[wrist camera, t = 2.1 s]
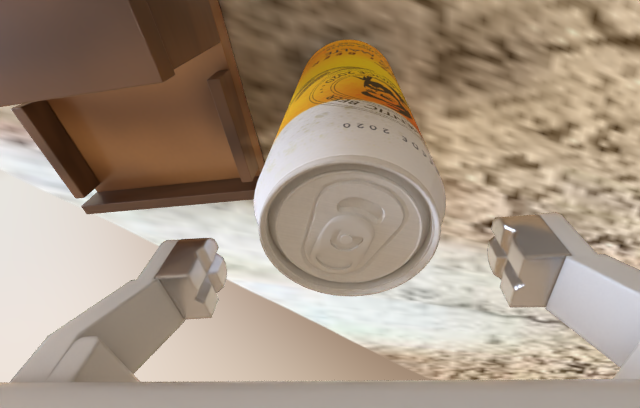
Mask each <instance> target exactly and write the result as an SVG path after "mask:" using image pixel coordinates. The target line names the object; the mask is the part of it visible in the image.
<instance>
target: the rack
mask: <svg viewBox="0 0 640 408" xmlns="http://www.w3.org/2000/svg"><path fill="white" fill-rule="evenodd" d="M17 104H21V105H18V106H16V107H13V108H12V109H11V110H12V111H13V113H14V114H15V115H16V117H17V118H18V120H19V121H20V122H21V124H22V125H23V126H24V128H25V129H26V131H27V132H28V133H29V135H30V136H31V138H32V139H33V140H34V142H35V143H36V144H37V146H38V147H39V149H40V150H41V151H42V153H43V154H44V155H45V157H46V158H47V160H48V161H49V162H50V164H51V165H52V166H53V168H54V169H55V171H56V172H57V173H58V175H59V176H60V178H61V179H62V180H63V182H64V183H65V184H66V186H67V187H68V189H69V190H70V191H71V193H72V194H73V195H74V197H75V198H84V197H86V196H87V195H88V194H89V193H90V192H91V191H93V190H94V189H96V191H97V193H96V194H95V195H93V196H92V197H91V198H90V199H89V200H88V201H87V202H86V203H85V204H83V205H82V208H83V210H84V211H85V212H86V214H95V213H106V212H117V211H128V210H139V209H150V208H161V207H173V206H184V205H195V204H206V203H217V202H228V201H240V200H251V199H254V194H255V188H256V185H257V182H258V179H259V176H260V174H261V172H262V169H263V167H264V160H263V157H262V153H261V150H260V146H259V143H258V139H257V136H256V132H255V129H254V125H253V122H252V118H251V115H250V111H249V108H248V104H247V101H246V97H245V93H244V90H243V86H242V83H241V79H240V76H239V72H238V69H237V65H236V62H235V58H234V55H233V51H232V48H231V44H230V41H229V37H228V34H227V30H226V27H225V23H224V20H223V16H222V13H221V9H220V6H219V2H218V0H0V107H3V106H10V105H17Z"/></svg>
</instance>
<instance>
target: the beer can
mask: <svg viewBox="0 0 640 408" xmlns="http://www.w3.org/2000/svg"><path fill="white" fill-rule="evenodd" d="M445 208H446V195H445V189H444V185H443V182H442V179H441V177H440V174H439V172H438V170H437V168H436V166H435V164H434V161H433V159H432V157H431V155H430V153H429V150H428V148H427V146H426V144H425V142H424V140H423V137H422V135H421V133H420V131H419V129H418V126H417V124H416V122H415V120H414V118H413V116H412V113H411V111H410V109H409V107H408V105H407V102H406V100H405V98H404V96H403V94H402V92H401V89H400V87H399V85H398V83H397V81H396V78H395V76H394V74H393V72H392V70H391V68H390V66H389V64H388V62H387V60H386V59H385V57H384V56H383V55H382V54H381V53H380V52H379V51H378V50H377V49H376V48H374V47H373V46H371V45H369V44H367V43H364V42H362V41H357V40H339V41H335V42H332V43H330V44H328V45H326V46H324V47H322V48H321V49H320V50H318V51H317V52H316V53H315V54H314V55H313V56H312V57H311V58H310V60H309V61H308V63H307V64H306V66H305V68H304V71H303V73H302V75H301V78H300V80H299V83H298V85H297V87H296V90H295V92H294V95H293V97H292V99H291V102H290V104H289V107H288V109H287V111H286V114H285V116H284V119H283V121H282V123H281V126H280V128H279V131H278V133H277V135H276V138H275V140H274V143H273V145H272V148H271V150H270V152H269V155H268V157H267V160H266V162H265V164H264V167H263V169H262V172H261V174H260V176H259V179H258V182H257V185H256V188H255V194H254V211H255V217H256V220H257V224H258V226H259V236H260V241H261V244H262V247H263V249H264V251H265V254H266V255H267V257H268V258H269V260H270V261H271V262H272V264H273V265H274V266H275V267H276V268H277V269H278V270H279V271H280V272H281V273H282V274H284V275H285V276H286V277H287V278H289V279H291V280H292V281H294V282H295V283H297V284H299V285H301V286H303V287H306V288H308V289H311V290H314V291H317V292H321V293H325V294H330V295H338V296H363V295H371V294H375V293H380V292H383V291H387V290H389V289H392V288H395V287H397V286H399V285H401V284H403V283H405V282H406V281H408V280H410V279H411V278H413V277H414V276H415V275H417V274H418V273H419V272H420V271H421V270H422V269H423V268H424V267H425V266H426V265H427V264H428V262H429V261H430V260H431V258H432V257H433V255H434V253H435V251H436V249H437V247H438V243H439V240H440V234H441V225H442V222H443V218H444V215H445Z"/></svg>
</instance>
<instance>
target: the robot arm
mask: <svg viewBox="0 0 640 408" xmlns="http://www.w3.org/2000/svg"><path fill="white" fill-rule="evenodd" d="M491 230H492V232H493V233H494V235H495V236H494V237H493V238H492V239H491V240H489V242H488V248H487V255H488V262H489V265H490V268H491V270H492V272H493V274H494V275H495V276H497V277H499V278H500V279H502V280H501V284H500V288H501V290H502V292H503V294H504V296H505V298H506V300H507V302H508V304H509V306H510V307H546V308H545V309H547V310H548V311H549V312H550V313H552V314H553V315H554V316H555V317H557V318H558V319H559V320H561V321H562V322H563V323H564V324H566V325H567V326H568V327H569V328H571V329H572V330H573V331H575V332H576V333H577V334H578V335H580V336H581V337H582V338H583V339H585V340H586V341H587V342H588V343H590V344H591V345H592V346H594V347H595V348H596V349H597V350H599V351H600V352H601V353H602V354H604V355H605V356H606V357H608V358H609V359H610V360H611V361H613V362H614V363H615V364H616V365H618V366H619V367H620V369H619V371H618V372H617V373H616V375H615V376H614V377H613V379H553V380H406V381H405V380H397V381H396V380H394V381H393V380H392V381H391V380H390V381H389V380H386V381H236V382H235V381H232V382H231V381H230V382H229V381H222V382H221V381H220V382H219V381H218V382H140V381H139V380H138V379H137V378H136V377H135V376H134V373H135V372H136V371H137V370H138V369H139V368H140V367H141V366H142V365H143V364H144V363H145V362H146V361H147V359H149V357H150V356H151V355H152V354H153V353H154V352H155V351H156V350H157V349H158V348H159V347H160V346H161V345H162V344H163V343H164V342H165V341H166V340H167V339H168V338H169V337H170V336H171V335H172V334H173V333H174V332H175V331H176V330H177V329H178V328H179V327H180V325H181V324H182V323H183V322H184V321H185V319H200V318H211V317H212V315H213V312H214V310H215V307H216V305H217V302H218V300H219V299H218V296H217V294H216V293H217V292H219V291H220V290H221V289H222V288H223V287H224V284H225V282H226V277H227V268H226V263H225V261H224V258H223V257H221V256H220V255H219V254H217V253H216V252H217V250H218V248H219V247H218V245H217V243H216V241H215V239H212V238H199V239H181V240H167V241H165V242H163V243H162V244H161V245H160V246H159V248H158V249H157V251H156V252H155V254H154V255H153V256H152V258H151V259H150V261H149V262H148V264H147V265H146V267H145V268H144V269H143V271H142V272H141V274H140V275H139V277H138V278H137V279H136V280H131V281H129V282H128V283H126V284H125V285H123V286H122V287H120V288H119V289H117V290H116V291H114V292H113V293H111V294H110V295H108V296H107V297H105V298H104V299H102V300H101V301H99V302H98V303H97V304H95V305H93V306H92V307H90V308H89V309H87V310H86V311H85V312H83V313H82V314H80V315H79V316H77V317H76V318H74V319H73V320H71V321H70V322H68V323H67V324H65V325H64V326H62V327H61V328H59V329H58V330H56V331H55V332H53V333H52V334H50V335H49V336H47V338H46V339H45V340H44V341H43V342H42V344H41V345H40V346H39V347H38V349H37V350H36V351H35V352H34V353H33V355H32V356H31V357H30V358H29V359H28V361H27V362H26V363H25V364H24V365H23V367H22V368H21V369H20V370H19V371H18V373H17V374H16V375H15V376H14V377H13V379H12V380H11V381H10V382H9V383H0V408H640V270H638V269H636V268H634V267H632V266H630V265H627V264H625V263H623V262H621V261H619V260H617V259H614V258H612V257H610V256H608V255H606V254H597V253H596V252H595V251H594V250H593V248H592V247H591V246H590V245H589V244H588V243H587V242H586V241H585V240H584V239H583V238H582V236H581V235H580V234H579V233H578V232H577V231H576V230H575V229H574V228H573V227H572V226H571V224H570V223H569V222H568V221H567V220H566V219H565V218H564V217H563V216H562V215H561V214H559V213H557V212H552V213H541V214H535V215H522V216H510V217H497V218H495V219H494V221H493V223H492V227H491Z"/></svg>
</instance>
